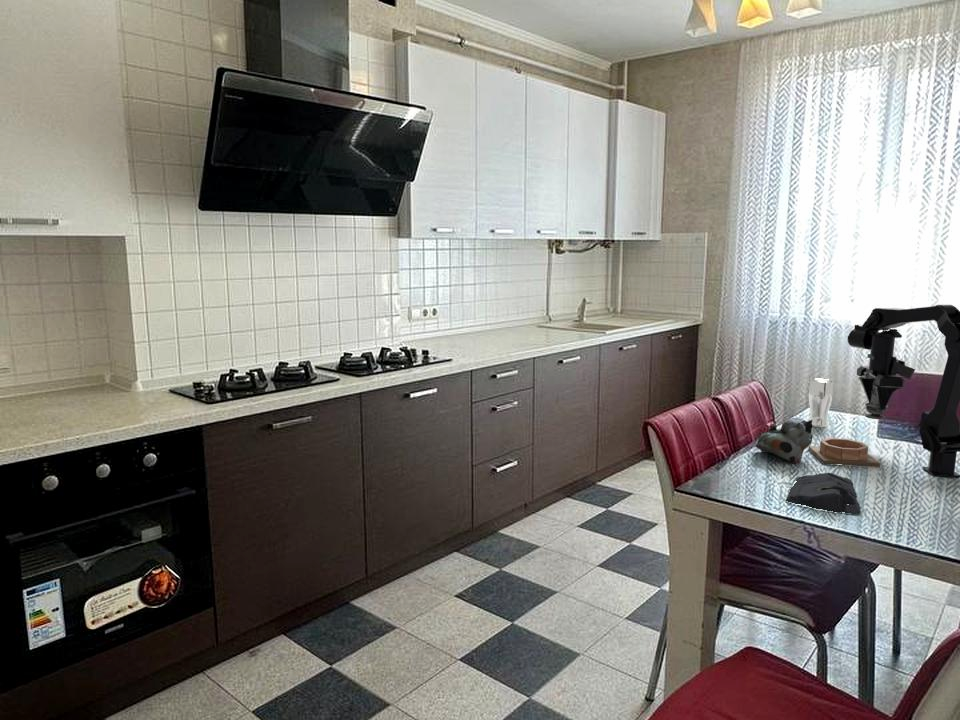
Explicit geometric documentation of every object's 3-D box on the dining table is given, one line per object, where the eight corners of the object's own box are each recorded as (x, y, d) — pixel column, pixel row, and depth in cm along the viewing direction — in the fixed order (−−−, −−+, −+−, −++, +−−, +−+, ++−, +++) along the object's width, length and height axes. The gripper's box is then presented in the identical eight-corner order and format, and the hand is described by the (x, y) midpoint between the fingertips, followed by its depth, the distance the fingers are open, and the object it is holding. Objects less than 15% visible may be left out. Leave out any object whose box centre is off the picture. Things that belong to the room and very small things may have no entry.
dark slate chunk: (861, 490, 170) (863, 471, 169) (859, 520, 151) (861, 499, 150) (793, 479, 177) (794, 461, 176) (783, 506, 158) (784, 486, 157)
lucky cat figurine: (754, 447, 203) (779, 406, 202) (794, 470, 198) (820, 427, 197) (752, 445, 189) (779, 401, 188) (795, 469, 184) (823, 424, 183)
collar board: (879, 467, 186) (881, 452, 185) (823, 464, 188) (825, 449, 188) (860, 452, 200) (862, 438, 199) (808, 449, 202) (809, 435, 201)
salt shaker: (891, 419, 199) (895, 378, 197) (871, 419, 199) (875, 378, 197) (879, 415, 205) (883, 374, 203) (859, 414, 205) (863, 374, 203)
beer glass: (812, 421, 235) (816, 377, 233) (833, 425, 230) (837, 380, 228) (802, 424, 231) (806, 380, 229) (823, 429, 226) (828, 383, 223)
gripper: (927, 357, 189) (921, 414, 191) (899, 348, 207) (893, 400, 209) (883, 356, 190) (877, 412, 193) (858, 347, 209) (853, 398, 211)
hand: (876, 405), depth 201 cm, fingers closed on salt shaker, 8 cm apart
